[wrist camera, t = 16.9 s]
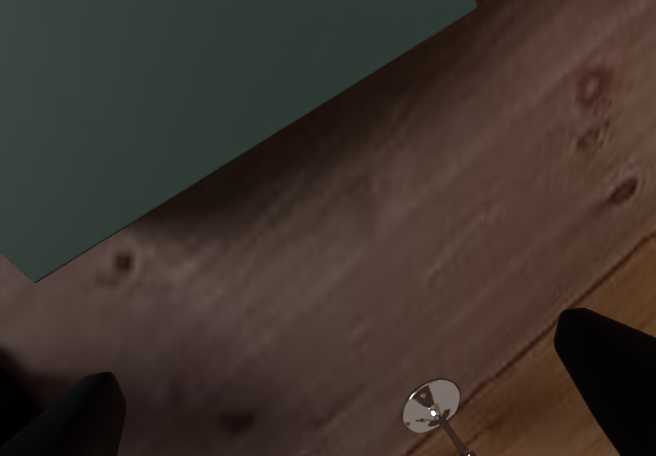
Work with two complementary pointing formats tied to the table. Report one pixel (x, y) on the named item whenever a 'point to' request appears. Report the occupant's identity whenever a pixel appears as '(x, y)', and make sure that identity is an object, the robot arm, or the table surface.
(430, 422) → the wineglass
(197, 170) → the cabinet
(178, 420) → the table surface
